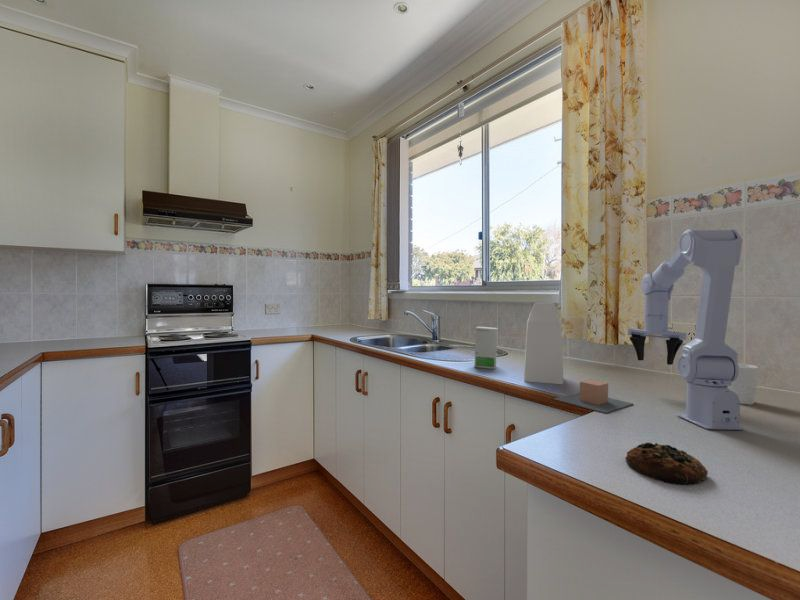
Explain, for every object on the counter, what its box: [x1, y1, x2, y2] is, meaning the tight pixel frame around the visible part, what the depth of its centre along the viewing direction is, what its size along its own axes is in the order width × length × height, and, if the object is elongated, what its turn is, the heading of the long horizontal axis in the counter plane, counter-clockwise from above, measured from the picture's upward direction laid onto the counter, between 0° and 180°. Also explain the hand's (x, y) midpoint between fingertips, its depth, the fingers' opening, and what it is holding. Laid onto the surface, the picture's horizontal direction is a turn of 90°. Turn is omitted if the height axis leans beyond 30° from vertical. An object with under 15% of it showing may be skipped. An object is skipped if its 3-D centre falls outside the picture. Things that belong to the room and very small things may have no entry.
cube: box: [579, 379, 609, 405], centre depth 102 cm, size 5×5×5 cm
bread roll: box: [624, 442, 709, 486], centre depth 63 cm, size 11×11×5 cm
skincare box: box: [473, 326, 499, 370], centre depth 149 cm, size 8×7×16 cm
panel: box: [553, 392, 634, 415], centre depth 102 cm, size 14×14×1 cm
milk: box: [523, 302, 564, 385], centre depth 129 cm, size 12×12×26 cm
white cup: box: [727, 363, 759, 405], centre depth 105 cm, size 8×8×10 cm
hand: (654, 362), depth 111 cm, fingers open, 7 cm apart
